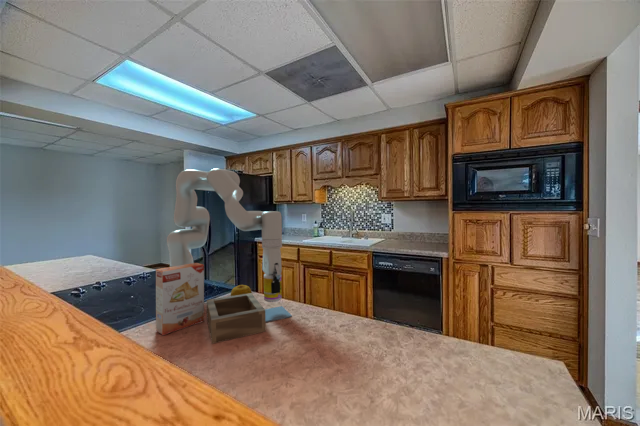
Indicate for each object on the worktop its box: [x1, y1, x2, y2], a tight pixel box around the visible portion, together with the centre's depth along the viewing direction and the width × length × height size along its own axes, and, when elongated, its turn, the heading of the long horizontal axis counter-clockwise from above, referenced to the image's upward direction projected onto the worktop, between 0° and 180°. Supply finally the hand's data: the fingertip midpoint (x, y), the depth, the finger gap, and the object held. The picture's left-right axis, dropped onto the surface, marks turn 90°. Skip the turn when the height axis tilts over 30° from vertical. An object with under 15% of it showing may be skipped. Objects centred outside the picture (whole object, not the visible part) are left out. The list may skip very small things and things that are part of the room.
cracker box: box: [155, 262, 205, 336], centre depth 90 cm, size 14×6×21 cm, turn 143°
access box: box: [206, 292, 267, 344], centre depth 90 cm, size 20×16×7 cm
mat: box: [264, 305, 293, 323], centre depth 99 cm, size 11×11×1 cm
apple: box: [230, 284, 253, 296], centre depth 108 cm, size 9×8×9 cm
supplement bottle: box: [263, 272, 283, 303], centre depth 99 cm, size 7×7×13 cm
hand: (272, 289), depth 99 cm, fingers closed on supplement bottle, 6 cm apart
